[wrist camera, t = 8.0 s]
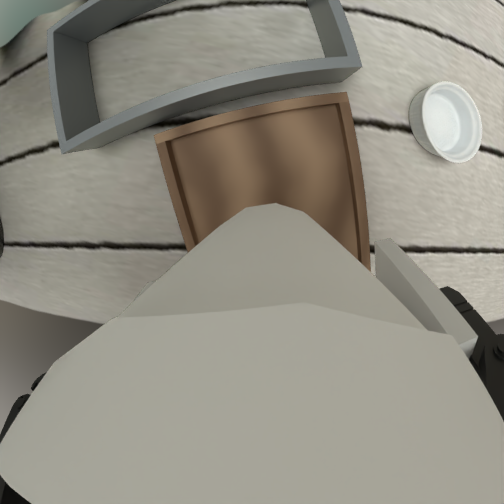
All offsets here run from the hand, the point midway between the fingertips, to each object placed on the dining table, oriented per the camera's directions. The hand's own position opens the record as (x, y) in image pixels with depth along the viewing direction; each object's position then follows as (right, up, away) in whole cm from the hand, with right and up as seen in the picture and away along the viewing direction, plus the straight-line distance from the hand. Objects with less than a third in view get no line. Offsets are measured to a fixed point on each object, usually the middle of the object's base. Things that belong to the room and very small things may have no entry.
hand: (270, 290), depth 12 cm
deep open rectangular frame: (-7, +24, +10) cm, 27 cm away
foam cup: (0, +1, +3) cm, 3 cm away
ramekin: (+20, +17, +12) cm, 29 cm away
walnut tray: (+1, +7, +17) cm, 18 cm away
